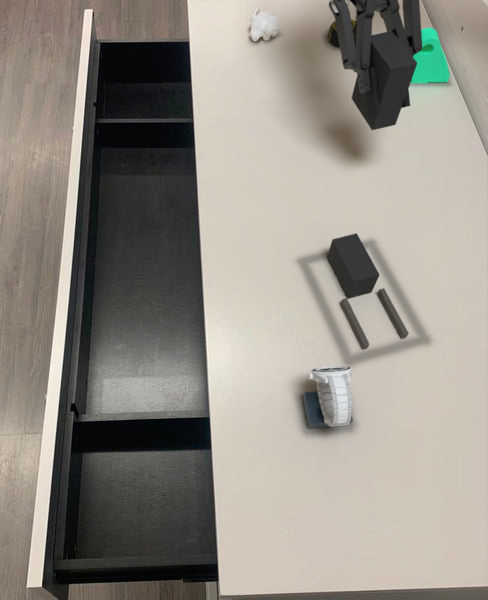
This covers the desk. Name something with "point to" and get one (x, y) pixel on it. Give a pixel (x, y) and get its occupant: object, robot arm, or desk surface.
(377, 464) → the desk surface
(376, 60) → the block
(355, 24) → the tape measure
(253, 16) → the elephant figurine
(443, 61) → the camera mount
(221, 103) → the desk surface
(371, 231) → the desk surface
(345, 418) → the watch
